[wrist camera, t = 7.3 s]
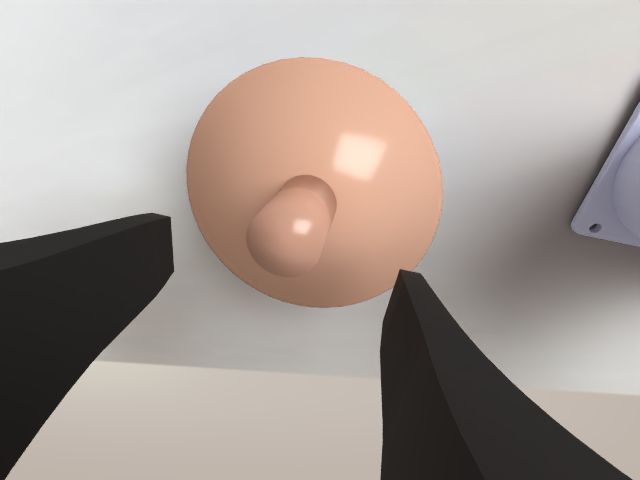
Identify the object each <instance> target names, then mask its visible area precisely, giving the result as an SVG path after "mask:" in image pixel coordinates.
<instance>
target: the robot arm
mask: <svg viewBox="0 0 640 480" xmlns="http://www.w3.org/2000/svg"><path fill="white" fill-rule="evenodd" d="M593 224H597V226H596V227H595V228H594V229H592V230H589V229H590V227H591V226H592V225H593ZM571 228H572V230H573V231H574V232H576V233H577V234H580V235H585V236H589V237H594V238H599V239H604V240H609V241H614V242H618V243H623V244H628V245H633V246H638V247H640V102H639V103H638V105H637V107H636V109H635V110H634V112H633V114H632V116H631V117H630V119H629V121H628V123H627V125H626V126H625V128H624V130H623V132H622V133H621V135H620V137H619V139H618V140H617V142H616V144H615V146H614V148H613V149H612V151H611V153H610V155H609V156H608V158H607V160H606V162H605V163H604V165H603V167H602V169H601V171H600V172H599V174H598V176H597V178H596V179H595V181H594V183H593V185H592V186H591V188H590V190H589V192H588V194H587V195H586V197H585V199H584V201H583V202H582V204H581V206H580V208H579V209H578V211H577V213H576V215H575V217H574V218H573V220H572V222H571ZM173 272H174V263H173V247H172V232H171V217H168V216H164V215H159V214H155V213H147V214H140V215H134V216H129V217H125V218H120V219H116V220H111V221H107V222H103V223H98V224H94V225H90V226H85V227H81V228H77V229H72V230H67V231H62V232H57V233H52V234H48V235H43V236H38V237H33V238H28V239H22V240H16V241H10V242H4V243H0V480H5V478H6V477H7V475H8V474H9V472H10V471H11V469H12V468H13V466H14V465H15V464H16V462H17V461H18V459H19V458H20V457H21V455H22V454H23V452H24V451H25V450H26V448H27V447H28V445H29V444H30V442H31V441H32V439H33V438H34V437H35V435H36V434H37V433H38V431H39V430H40V428H41V427H42V426H43V424H44V423H45V421H46V420H47V419H48V418H49V416H50V415H51V414H52V412H53V411H54V410H55V408H56V407H57V406H58V404H59V403H60V402H61V400H62V399H63V398H64V397H65V395H66V394H67V392H68V391H69V390H70V389H71V388H72V386H73V385H74V384H75V383H76V382H77V380H78V379H79V378H80V376H81V375H82V374H83V373H84V372H85V370H86V369H87V368H88V367H89V365H90V364H91V363H92V362H93V361H94V360H95V359H96V358H97V356H98V355H99V354H100V353H101V352H102V351H103V350H104V349H105V348H106V347H107V346H108V345H109V344H110V343H111V342H112V341H113V340H114V339H115V338H116V337H117V336H118V335H119V334H120V333H121V332H122V331H123V330H124V329H125V328H126V327H127V326H128V325H129V324H130V323H131V322H132V320H133V319H134V318H135V317H136V316H137V315H138V314H139V313H140V312H141V311H142V310H143V309H144V308H145V307H146V306H147V305H148V304H149V303H150V302H151V301H152V300H153V299H154V298H155V297H156V296H157V294H158V293H159V292H160V290H161V289H162V288H163V286H164V285H165V284H166V282H167V281H168V279H169V278H170V276H171V275H172V274H173ZM380 364H381V390H382V417H383V446H382V463H381V480H632V479H631V478H630V477H628V476H627V475H625V474H624V473H622V472H621V471H619V470H618V469H617V468H615V467H614V466H613V465H612V464H610V463H609V462H608V461H606V460H605V459H604V458H602V457H601V456H600V455H598V454H597V453H596V452H594V451H593V450H592V449H590V448H589V447H588V446H587V445H585V444H584V443H583V442H581V441H580V440H579V439H577V438H576V437H575V436H574V435H572V434H571V433H570V432H569V431H567V430H566V429H565V428H564V427H563V426H561V425H560V424H559V423H558V422H556V421H555V420H554V419H553V418H552V417H550V416H549V415H548V414H547V413H546V412H545V411H543V410H542V409H541V408H540V407H539V406H538V405H537V404H535V403H534V402H533V401H532V400H531V399H530V398H528V397H527V396H526V395H525V394H524V393H523V392H522V391H521V390H520V389H519V388H517V387H516V386H515V385H514V384H513V383H512V382H511V381H510V380H509V379H508V378H507V377H506V376H505V375H504V374H503V373H502V372H501V371H500V370H499V369H498V368H497V367H496V366H495V365H494V364H493V363H492V362H491V361H490V360H489V359H488V358H487V357H486V356H485V355H484V354H483V353H482V352H481V351H480V349H479V348H478V347H477V346H476V345H475V344H474V343H473V341H472V340H471V339H470V338H469V337H468V336H467V334H466V333H465V332H464V331H463V330H462V329H461V327H460V326H459V325H458V324H457V322H456V321H455V320H454V319H453V317H452V316H451V315H450V313H449V312H448V311H447V309H446V308H445V307H444V305H443V304H442V303H441V301H440V300H439V298H438V297H437V296H436V294H435V293H434V291H433V290H432V289H431V287H430V286H429V284H428V283H427V282H426V280H425V279H424V277H423V276H422V275H421V274H420V273H416V272H411V271H407V270H403V269H399V273H398V276H397V279H396V282H395V285H394V288H393V291H392V295H391V298H390V301H389V304H388V307H387V310H386V313H385V316H384V320H383V325H382V335H381V347H380Z"/></svg>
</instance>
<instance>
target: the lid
mask: <svg viewBox="0 0 640 480" xmlns="http://www.w3.org/2000/svg"><path fill="white" fill-rule="evenodd" d="M187 188H188V195H189V201H190V204H191V208H192V212H193V215H194V217H195V220H196V222H197V225H198V227H199V229H200V231H201V233H202V235H203V237H204V238H205V240H206V242H207V243H208V245H209V246H210V248H211V249H212V251H213V252H214V253H215V255H216V256H217V257H218V258H219V259H220V260H221V262H222V263H223V264H224V265H225V266H226V267H227V268H228V269H229V270H230V271H231V272H233V273H234V274H235V275H236V276H237V277H239V278H240V279H241V280H243V281H244V282H245V283H247V284H248V285H250V286H251V287H253V288H255V289H256V290H258V291H260V292H262V293H264V294H266V295H268V296H270V297H273V298H276V299H278V300H281V301H284V302H287V303H291V304H295V305H300V306H307V307H320V308H329V307H342V306H347V305H352V304H356V303H360V302H363V301H366V300H369V299H371V298H373V297H376V296H378V295H380V294H382V293H384V292H385V291H387V290H389V289H391V288H392V287H394V285H395V282H396V279H397V276H398V273H399V269H403V270H407V271H412V270H413V269H414V268H415V267H416V266H417V264H418V263H419V262H420V260H421V259H422V258H423V256H424V255H425V253H426V252H427V250H428V248H429V246H430V244H431V242H432V241H433V238H434V235H435V233H436V230H437V227H438V224H439V220H440V215H441V211H442V200H443V183H442V172H441V168H440V163H439V159H438V155H437V152H436V150H435V147H434V144H433V142H432V139H431V137H430V135H429V133H428V131H427V130H426V128H425V126H424V124H423V122H422V121H421V119H420V118H419V116H418V115H417V114H416V113H415V111H414V110H413V109H412V107H411V106H410V105H409V103H408V102H407V101H406V100H405V99H404V98H403V97H402V96H401V95H400V94H399V93H398V92H397V91H396V90H395V89H393V88H392V87H390V86H389V85H388V84H386V83H385V82H384V81H382V80H381V79H380V78H378V77H376V76H374V75H372V74H370V73H368V72H367V71H365V70H363V69H360V68H358V67H355V66H352V65H349V64H346V63H343V62H338V61H333V60H328V59H323V58H304V57H300V58H291V59H282V60H278V61H274V62H271V63H267V64H263V65H261V66H259V67H256V68H254V69H252V70H250V71H248V72H246V73H244V74H242V75H241V76H239V77H238V78H236V79H235V80H233V81H232V82H230V83H229V84H228V85H227V86H226V87H225V88H224V89H223V90H222V91H220V92H219V93H218V94H217V95H216V97H215V98H214V99H213V100H212V102H211V103H210V104H209V105H208V106H207V108H206V110H205V111H204V113H203V115H202V116H201V118H200V120H199V121H198V124H197V126H196V129H195V131H194V134H193V136H192V140H191V144H190V148H189V152H188V159H187Z"/></svg>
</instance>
